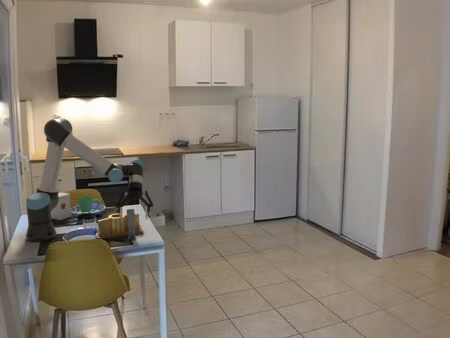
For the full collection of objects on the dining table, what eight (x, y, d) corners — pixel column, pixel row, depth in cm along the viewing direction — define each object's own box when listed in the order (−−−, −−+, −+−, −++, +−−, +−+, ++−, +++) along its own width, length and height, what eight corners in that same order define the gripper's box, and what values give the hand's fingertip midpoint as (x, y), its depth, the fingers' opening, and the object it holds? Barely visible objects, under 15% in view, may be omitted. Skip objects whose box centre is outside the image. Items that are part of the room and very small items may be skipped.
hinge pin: (128, 240, 222) (127, 211, 219) (127, 238, 226) (126, 209, 223) (136, 239, 224) (134, 210, 221) (135, 237, 227) (133, 208, 224)
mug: (75, 215, 268) (74, 200, 266) (81, 211, 277) (80, 196, 276) (97, 215, 267) (96, 200, 265) (103, 211, 276) (102, 196, 275)
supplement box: (60, 220, 258) (58, 196, 255) (50, 218, 262) (48, 195, 259) (72, 216, 266) (70, 193, 263) (61, 214, 270) (59, 192, 267)
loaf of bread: (96, 239, 225) (95, 222, 223) (95, 230, 239) (93, 214, 237) (143, 233, 233) (142, 217, 231) (139, 225, 247) (138, 209, 245)
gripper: (158, 187, 241) (157, 220, 229) (114, 188, 239) (111, 222, 227) (157, 180, 235) (156, 214, 223) (112, 181, 233) (108, 215, 221)
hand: (133, 218), depth 225 cm, fingers open, 13 cm apart
